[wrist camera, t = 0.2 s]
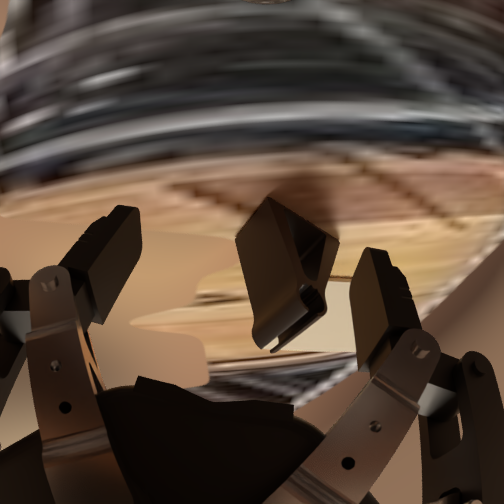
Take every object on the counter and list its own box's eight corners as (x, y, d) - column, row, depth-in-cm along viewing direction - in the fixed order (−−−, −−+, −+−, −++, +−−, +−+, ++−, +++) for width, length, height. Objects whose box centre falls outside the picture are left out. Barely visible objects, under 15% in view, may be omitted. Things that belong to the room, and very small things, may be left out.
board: (266, 274, 37) (265, 277, 36) (384, 280, 36) (386, 283, 35) (261, 345, 46) (261, 348, 45) (356, 348, 45) (357, 351, 44)
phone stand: (339, 240, 33) (357, 335, 24) (303, 275, 36) (307, 368, 27) (267, 195, 30) (260, 287, 21) (234, 237, 34) (217, 330, 25)
